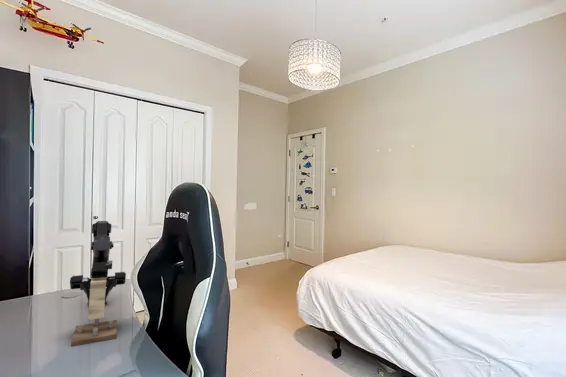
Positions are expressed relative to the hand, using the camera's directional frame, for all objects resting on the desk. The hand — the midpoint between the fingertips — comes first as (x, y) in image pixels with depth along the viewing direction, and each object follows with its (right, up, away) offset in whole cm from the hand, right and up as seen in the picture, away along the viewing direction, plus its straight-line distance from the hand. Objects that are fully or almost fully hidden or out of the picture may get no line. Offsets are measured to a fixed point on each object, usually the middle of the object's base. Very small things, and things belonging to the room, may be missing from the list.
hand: (97, 300), depth 112 cm
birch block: (-1, -7, +1) cm, 7 cm away
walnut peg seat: (-1, -13, +1) cm, 13 cm away
